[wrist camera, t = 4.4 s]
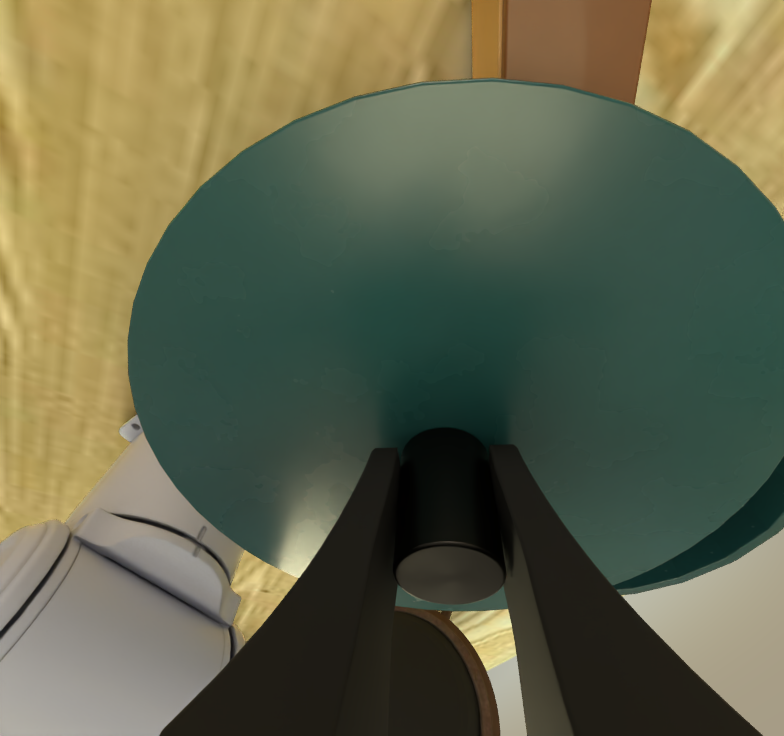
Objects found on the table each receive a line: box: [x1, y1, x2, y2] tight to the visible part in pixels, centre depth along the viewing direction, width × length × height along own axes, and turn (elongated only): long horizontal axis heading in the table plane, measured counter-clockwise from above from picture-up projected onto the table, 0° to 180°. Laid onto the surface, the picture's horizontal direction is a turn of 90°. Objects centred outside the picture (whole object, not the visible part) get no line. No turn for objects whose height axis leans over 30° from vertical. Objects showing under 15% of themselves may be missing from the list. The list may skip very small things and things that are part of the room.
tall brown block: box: [472, 0, 652, 104], centre depth 12 cm, size 3×7×6 cm, turn 7°
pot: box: [612, 456, 784, 595], centre depth 21 cm, size 17×17×5 cm
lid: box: [128, 78, 784, 611], centre depth 11 cm, size 17×17×4 cm
